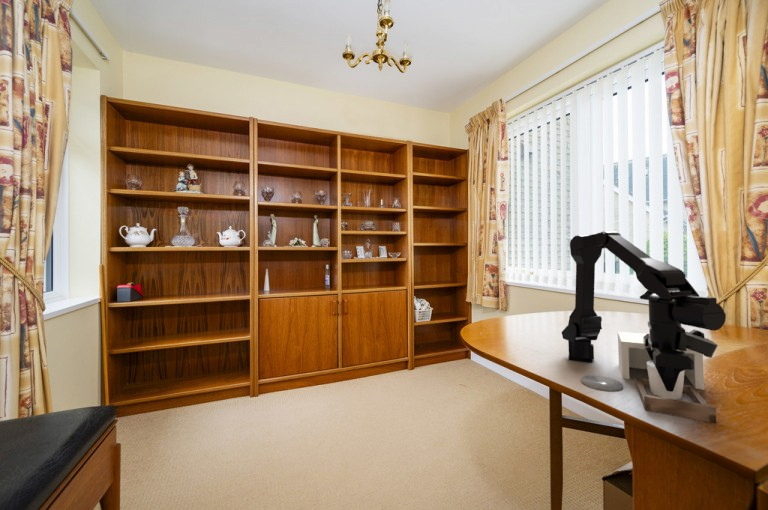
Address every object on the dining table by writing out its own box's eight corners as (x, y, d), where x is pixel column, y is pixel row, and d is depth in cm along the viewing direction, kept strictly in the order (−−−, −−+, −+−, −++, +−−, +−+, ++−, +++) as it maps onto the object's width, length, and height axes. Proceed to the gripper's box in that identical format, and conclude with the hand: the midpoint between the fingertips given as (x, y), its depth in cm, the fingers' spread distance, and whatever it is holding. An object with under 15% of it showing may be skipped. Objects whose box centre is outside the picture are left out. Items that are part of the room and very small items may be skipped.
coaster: (580, 387, 82) (580, 384, 82) (581, 375, 89) (581, 373, 89) (624, 394, 77) (624, 391, 77) (621, 381, 85) (621, 378, 85)
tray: (645, 410, 69) (644, 396, 69) (635, 383, 82) (635, 372, 82) (716, 423, 63) (715, 408, 63) (693, 392, 77) (693, 379, 77)
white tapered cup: (675, 403, 72) (674, 373, 72) (641, 391, 78) (640, 363, 78) (691, 396, 75) (691, 366, 74) (657, 384, 81) (656, 357, 81)
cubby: (622, 378, 86) (621, 341, 86) (618, 364, 97) (617, 331, 97) (704, 389, 78) (702, 349, 78) (690, 373, 88) (689, 337, 88)
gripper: (727, 333, 64) (729, 411, 64) (699, 315, 79) (701, 377, 79) (655, 328, 70) (657, 399, 70) (642, 312, 85) (644, 370, 85)
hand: (666, 385), depth 76 cm, fingers open, 6 cm apart
